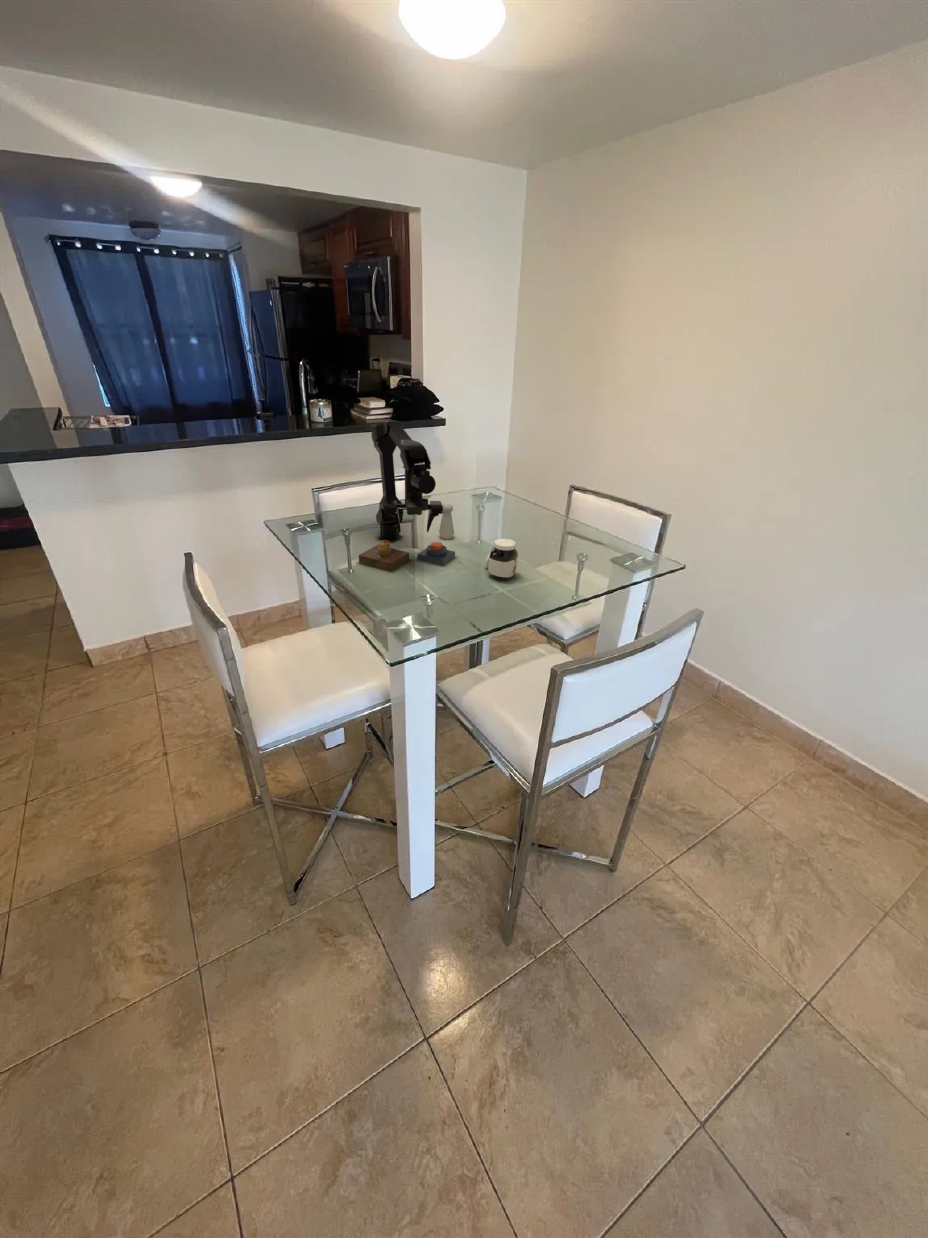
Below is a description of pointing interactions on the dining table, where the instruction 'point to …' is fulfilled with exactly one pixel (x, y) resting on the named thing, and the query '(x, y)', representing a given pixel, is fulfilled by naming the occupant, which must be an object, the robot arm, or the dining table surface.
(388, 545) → the dial
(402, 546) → the dining table surface
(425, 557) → the button housing
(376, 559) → the dial panel
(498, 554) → the spread jar
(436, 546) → the button
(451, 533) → the salt shaker
